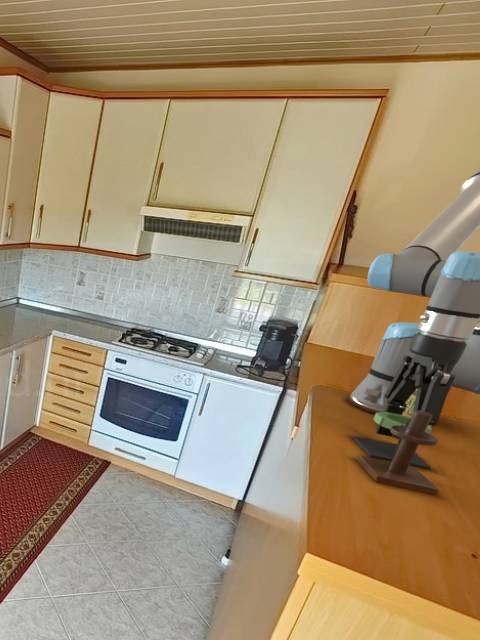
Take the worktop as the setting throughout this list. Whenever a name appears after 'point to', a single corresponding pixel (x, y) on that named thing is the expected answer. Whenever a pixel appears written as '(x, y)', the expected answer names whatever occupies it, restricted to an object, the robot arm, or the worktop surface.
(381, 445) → the mat
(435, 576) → the worktop surface
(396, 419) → the ring
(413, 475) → the peg stand
